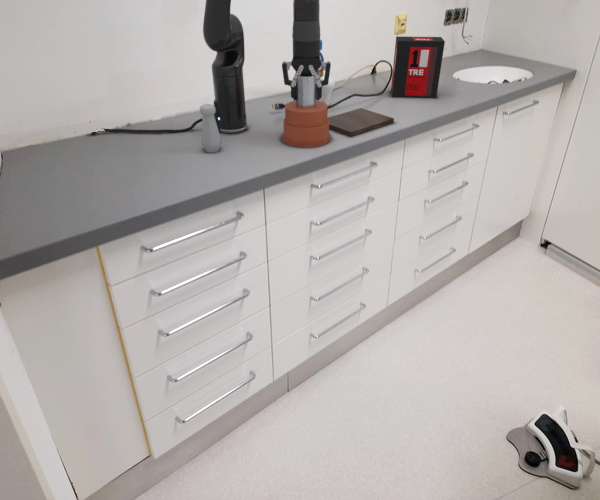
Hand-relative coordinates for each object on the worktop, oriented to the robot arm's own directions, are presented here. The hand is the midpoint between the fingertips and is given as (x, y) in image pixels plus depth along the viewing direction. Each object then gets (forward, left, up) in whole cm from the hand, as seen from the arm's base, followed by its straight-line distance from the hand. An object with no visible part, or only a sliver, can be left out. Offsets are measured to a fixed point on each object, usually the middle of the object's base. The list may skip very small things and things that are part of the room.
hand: (306, 99), depth 138 cm
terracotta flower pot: (0, 0, -12) cm, 12 cm away
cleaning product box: (+40, +49, -12) cm, 64 cm away
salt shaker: (-27, -10, -12) cm, 31 cm away
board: (+16, +14, -12) cm, 24 cm away
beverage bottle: (+1, +46, -12) cm, 48 cm away
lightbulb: (+6, +32, -12) cm, 35 cm away
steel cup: (0, 0, -2) cm, 2 cm away
